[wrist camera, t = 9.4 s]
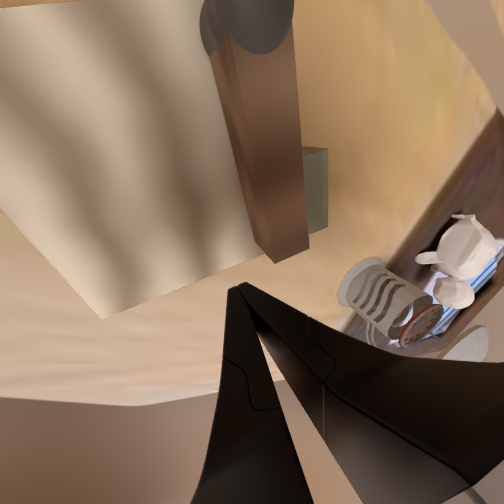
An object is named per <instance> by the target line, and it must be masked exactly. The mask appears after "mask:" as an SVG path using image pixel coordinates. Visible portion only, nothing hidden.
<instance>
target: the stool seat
mask: <svg viewBox="0 0 504 504" xmlns="http://www.w3.org/2000/svg"><path fill="white" fill-rule="evenodd" d="M203 2H204V0H80V1H70V2H59V3H49V4H39V5H29V6H19V7H9V8H0V209H1V210H2V211H3V212H4V213H5V214H6V216H7V217H8V218H9V219H10V220H11V221H12V222H13V223H14V224H15V225H16V226H17V228H18V229H19V230H20V231H21V232H22V233H23V234H24V235H25V236H26V237H27V238H28V240H29V241H30V242H31V243H32V244H33V245H34V246H35V247H36V248H37V249H38V250H39V252H40V253H41V254H42V255H43V256H44V257H45V258H46V259H47V260H48V261H49V262H50V263H51V265H52V266H53V267H54V268H55V269H56V270H57V271H58V272H59V273H60V274H61V275H62V277H63V278H64V279H65V280H66V281H67V282H68V283H69V284H70V285H71V286H72V287H73V289H74V290H75V291H76V292H77V293H78V294H79V295H80V296H81V297H82V298H83V299H84V301H85V302H86V303H87V304H88V305H89V306H90V307H91V308H92V309H93V310H94V311H95V313H96V314H97V315H98V316H99V317H100V318H101V319H105V318H107V317H110V316H112V315H114V314H117V313H119V312H122V311H124V310H127V309H129V308H132V307H134V306H137V305H139V304H141V303H144V302H146V301H149V300H151V299H154V298H156V297H159V296H161V295H164V294H166V293H168V292H171V291H173V290H176V289H178V288H181V287H183V286H186V285H188V284H191V283H193V282H195V281H198V280H200V279H203V278H205V277H208V276H210V275H213V274H215V273H218V272H220V271H223V270H225V269H227V268H230V267H232V266H235V265H237V264H240V263H242V262H245V261H247V260H250V259H252V258H254V257H257V256H259V255H262V254H264V253H265V252H264V251H263V250H262V249H261V248H260V247H259V246H258V245H257V244H256V243H255V240H254V236H253V232H252V228H251V224H250V219H249V215H248V211H247V207H246V203H245V199H244V195H243V191H242V187H241V183H240V179H239V175H238V171H237V167H236V163H235V159H234V155H233V151H232V147H231V143H230V139H229V135H228V130H227V126H226V122H225V118H224V114H223V110H222V106H221V102H220V98H219V94H218V90H217V86H216V82H215V78H214V74H213V70H212V66H211V62H210V58H209V56H208V54H207V52H206V50H205V48H204V46H203V43H202V39H201V35H200V25H199V20H200V12H201V8H202V5H203ZM302 158H303V171H304V184H305V197H306V210H307V223H308V235H309V234H311V233H314V232H316V231H318V230H321V229H323V228H326V227H328V149H325V148H315V147H305V146H302Z"/></svg>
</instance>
